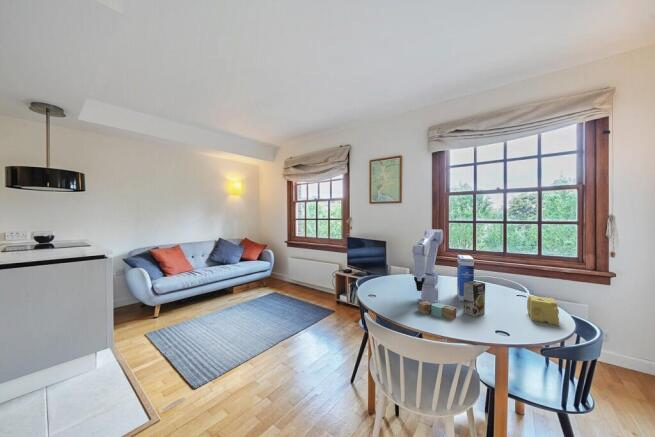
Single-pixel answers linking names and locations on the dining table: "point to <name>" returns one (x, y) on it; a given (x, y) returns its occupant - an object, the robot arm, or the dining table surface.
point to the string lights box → (464, 273)
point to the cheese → (543, 309)
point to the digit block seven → (449, 312)
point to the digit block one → (424, 307)
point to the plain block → (437, 309)
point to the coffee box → (474, 298)
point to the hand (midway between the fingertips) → (419, 290)
